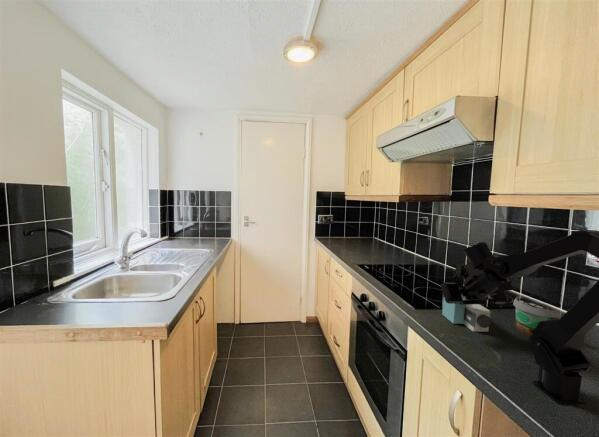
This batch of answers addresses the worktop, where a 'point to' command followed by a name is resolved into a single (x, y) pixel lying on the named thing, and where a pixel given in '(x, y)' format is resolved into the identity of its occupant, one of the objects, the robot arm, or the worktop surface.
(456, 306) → the teal block
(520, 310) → the food container
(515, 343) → the worktop surface
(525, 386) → the worktop surface
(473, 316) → the camera housing
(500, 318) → the worktop surface
